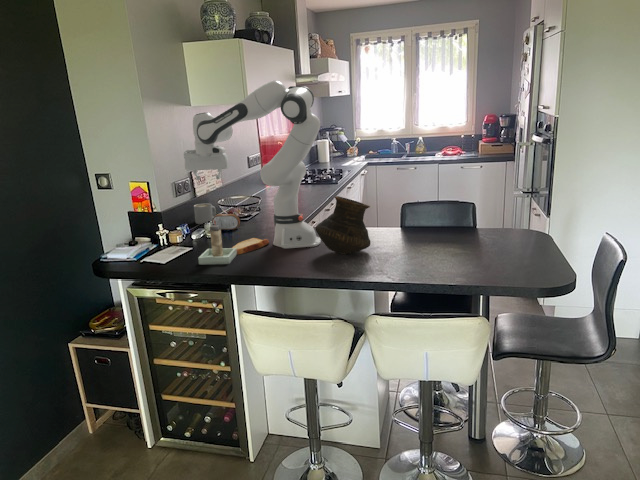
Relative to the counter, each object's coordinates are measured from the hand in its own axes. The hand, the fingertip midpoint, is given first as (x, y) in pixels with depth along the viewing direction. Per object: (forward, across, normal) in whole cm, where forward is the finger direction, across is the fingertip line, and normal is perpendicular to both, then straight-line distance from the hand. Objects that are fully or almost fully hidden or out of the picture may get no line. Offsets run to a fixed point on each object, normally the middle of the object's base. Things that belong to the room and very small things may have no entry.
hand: (208, 179), depth 225 cm
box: (+31, +9, -25) cm, 41 cm away
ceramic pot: (+31, +63, -21) cm, 73 cm away
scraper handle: (+30, +9, -25) cm, 41 cm away
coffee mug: (+31, -19, +48) cm, 60 cm away
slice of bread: (+32, +19, -8) cm, 38 cm away
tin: (+31, -2, +28) cm, 42 cm away
